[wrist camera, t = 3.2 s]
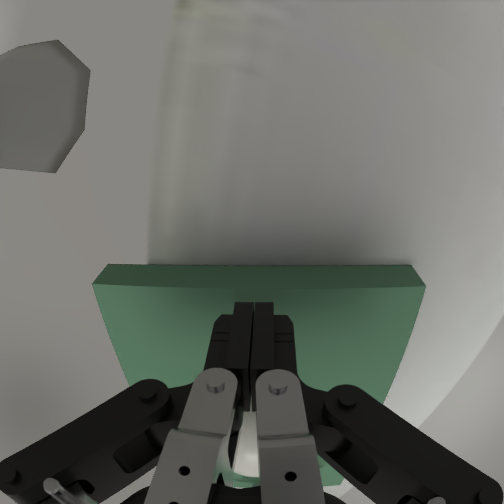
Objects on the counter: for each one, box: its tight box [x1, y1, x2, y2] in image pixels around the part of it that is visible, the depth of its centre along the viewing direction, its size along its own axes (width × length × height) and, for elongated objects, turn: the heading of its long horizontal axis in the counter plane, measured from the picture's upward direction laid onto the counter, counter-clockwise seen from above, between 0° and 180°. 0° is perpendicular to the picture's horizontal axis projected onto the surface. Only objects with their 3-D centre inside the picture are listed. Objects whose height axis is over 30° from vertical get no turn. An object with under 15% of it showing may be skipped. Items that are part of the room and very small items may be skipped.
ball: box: [234, 400, 259, 477], centre depth 15 cm, size 5×5×5 cm
